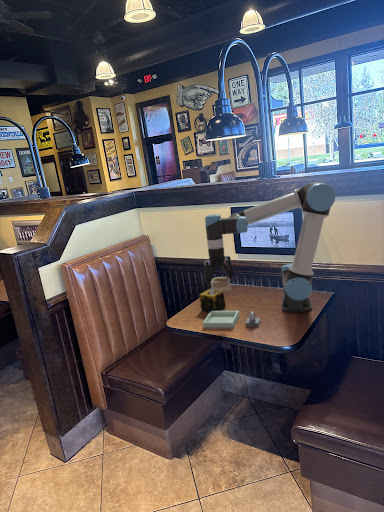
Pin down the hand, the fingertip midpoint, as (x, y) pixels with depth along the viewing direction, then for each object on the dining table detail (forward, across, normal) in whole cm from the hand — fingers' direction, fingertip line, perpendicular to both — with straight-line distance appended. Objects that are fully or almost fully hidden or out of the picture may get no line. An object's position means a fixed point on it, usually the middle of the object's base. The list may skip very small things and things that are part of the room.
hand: (220, 292), depth 184 cm
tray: (+16, 0, -1) cm, 16 cm away
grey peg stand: (+16, -9, +12) cm, 22 cm away
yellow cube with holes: (+17, -6, -19) cm, 26 cm away
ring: (-1, 0, -1) cm, 2 cm away
